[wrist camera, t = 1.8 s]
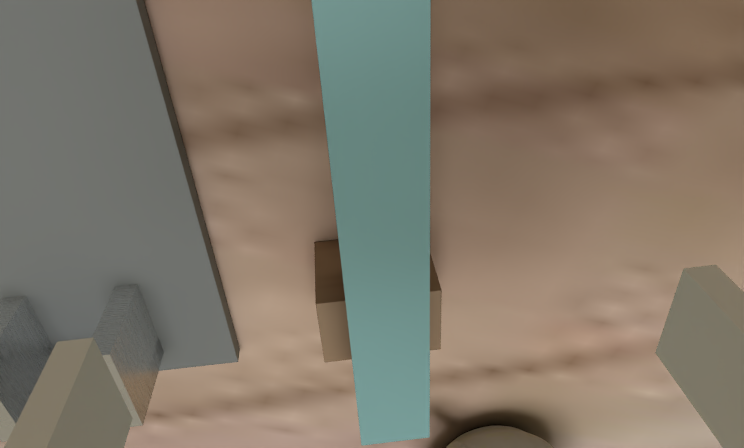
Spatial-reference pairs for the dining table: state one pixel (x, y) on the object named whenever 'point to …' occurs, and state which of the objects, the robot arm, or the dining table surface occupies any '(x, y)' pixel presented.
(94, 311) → the cap board
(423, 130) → the slat
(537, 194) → the dining table surface
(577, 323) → the dining table surface
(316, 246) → the block
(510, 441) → the teacup
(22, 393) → the end caps
